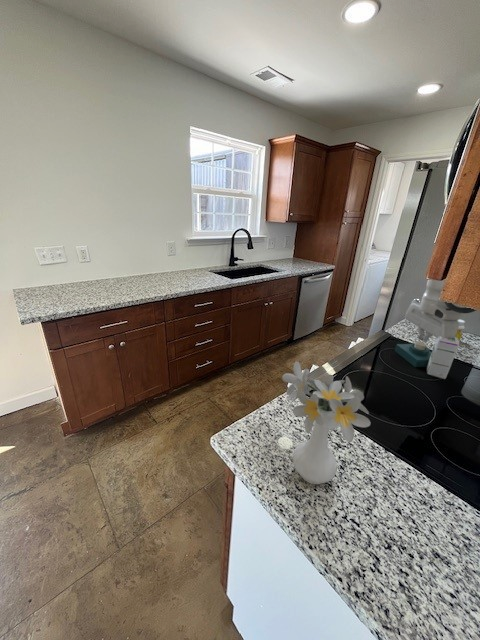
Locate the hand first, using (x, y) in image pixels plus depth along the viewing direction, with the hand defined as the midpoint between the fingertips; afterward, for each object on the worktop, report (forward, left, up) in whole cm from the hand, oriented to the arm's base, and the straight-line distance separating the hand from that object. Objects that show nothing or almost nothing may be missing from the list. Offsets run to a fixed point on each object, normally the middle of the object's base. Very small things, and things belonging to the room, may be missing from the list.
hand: (422, 340), depth 101 cm
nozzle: (0, 0, -4) cm, 4 cm away
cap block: (0, 0, -8) cm, 8 cm away
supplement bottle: (+14, -29, -9) cm, 34 cm away
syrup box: (-10, 0, -9) cm, 13 cm away
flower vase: (-43, +59, -9) cm, 74 cm away
